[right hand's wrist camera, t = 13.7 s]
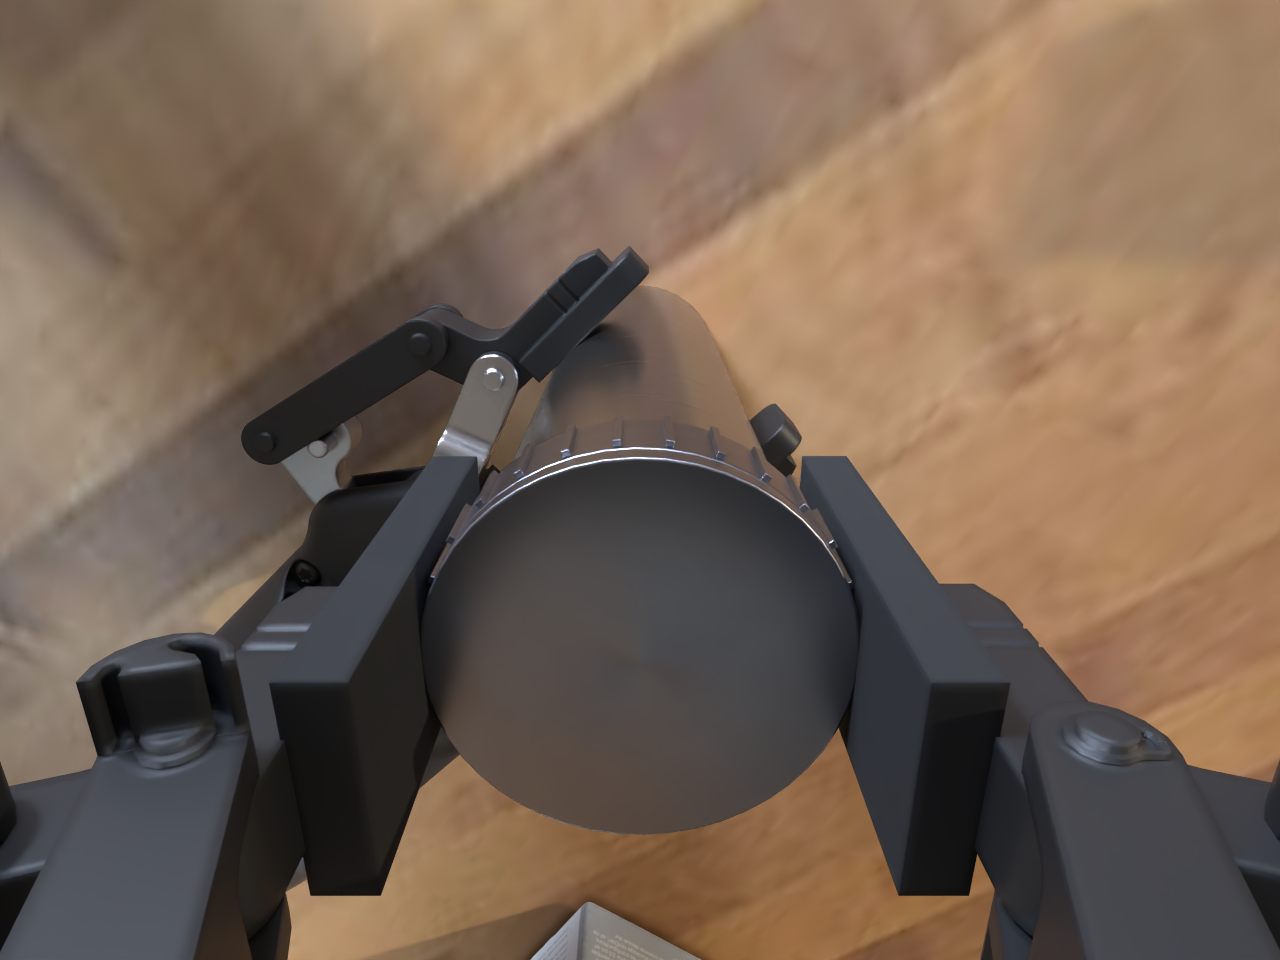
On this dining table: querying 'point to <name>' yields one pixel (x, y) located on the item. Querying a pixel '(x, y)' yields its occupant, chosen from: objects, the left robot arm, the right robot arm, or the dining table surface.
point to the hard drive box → (606, 940)
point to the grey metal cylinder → (643, 374)
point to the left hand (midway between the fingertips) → (713, 343)
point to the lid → (640, 629)
